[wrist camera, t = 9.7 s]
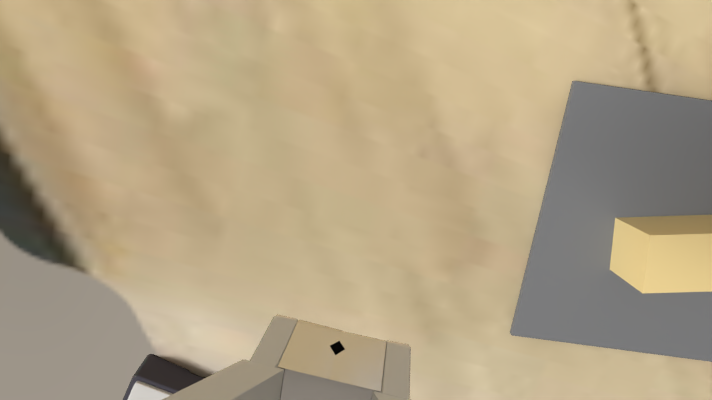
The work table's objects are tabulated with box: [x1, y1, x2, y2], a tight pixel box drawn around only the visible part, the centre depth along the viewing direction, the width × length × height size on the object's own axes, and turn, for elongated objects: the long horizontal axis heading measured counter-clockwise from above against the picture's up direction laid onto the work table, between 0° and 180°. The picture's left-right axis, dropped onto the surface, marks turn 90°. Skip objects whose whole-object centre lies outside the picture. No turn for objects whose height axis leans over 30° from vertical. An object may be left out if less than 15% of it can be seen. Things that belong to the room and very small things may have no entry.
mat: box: [510, 81, 712, 362], centre depth 41 cm, size 24×21×1 cm
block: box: [610, 215, 712, 293], centre depth 38 cm, size 5×5×12 cm
